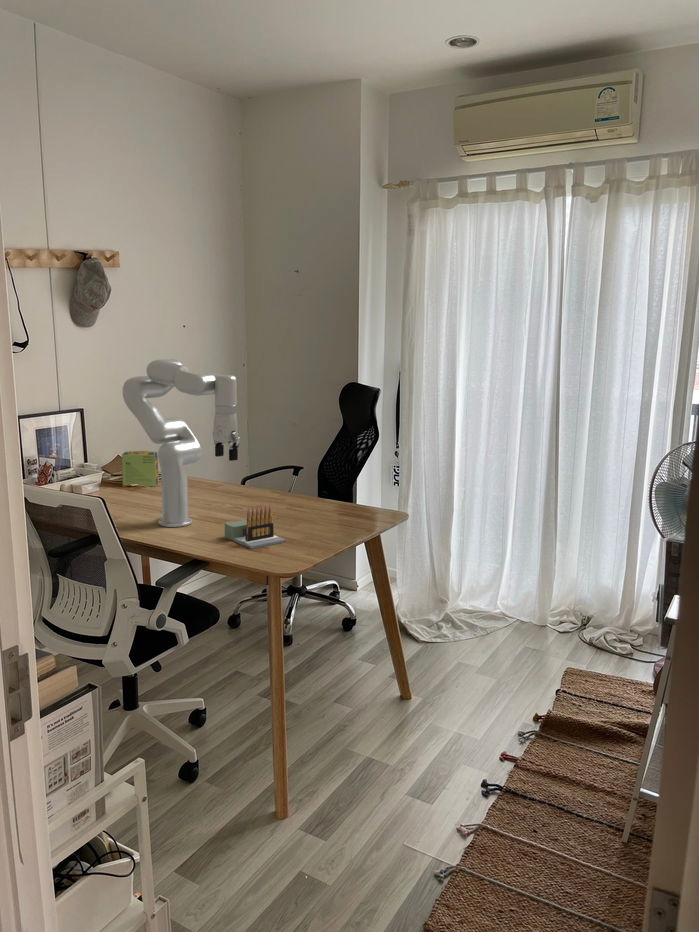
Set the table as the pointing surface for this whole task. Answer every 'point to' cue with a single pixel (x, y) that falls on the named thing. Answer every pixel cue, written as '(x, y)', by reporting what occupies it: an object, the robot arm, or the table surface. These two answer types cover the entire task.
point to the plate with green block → (238, 534)
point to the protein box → (140, 468)
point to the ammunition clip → (259, 524)
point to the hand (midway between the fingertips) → (226, 458)
